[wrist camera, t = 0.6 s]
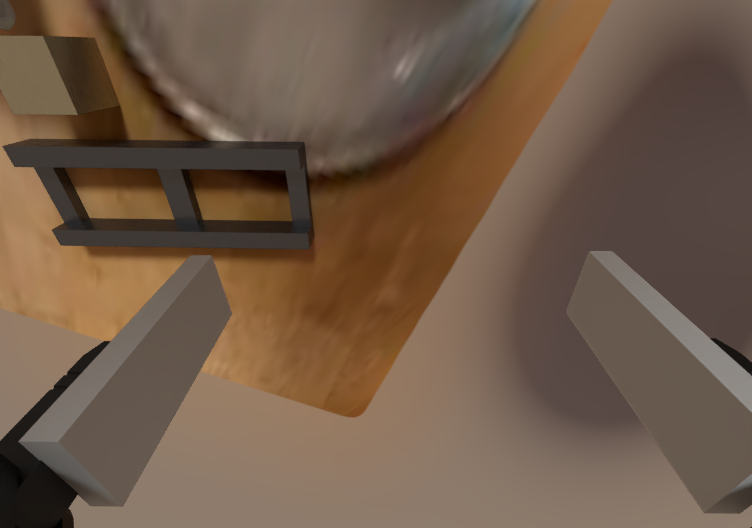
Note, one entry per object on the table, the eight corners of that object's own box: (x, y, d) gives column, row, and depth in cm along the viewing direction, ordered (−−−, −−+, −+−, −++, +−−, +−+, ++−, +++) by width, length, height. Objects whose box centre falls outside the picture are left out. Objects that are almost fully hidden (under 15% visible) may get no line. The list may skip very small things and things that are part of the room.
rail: (30, 138, 34) (2, 146, 32) (304, 142, 34) (297, 149, 32) (80, 233, 40) (60, 245, 38) (314, 236, 40) (309, 249, 38)
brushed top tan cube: (34, 37, 30) (-30, 35, 25) (95, 37, 30) (42, 35, 25) (65, 104, 33) (13, 114, 28) (120, 105, 33) (78, 114, 28)
